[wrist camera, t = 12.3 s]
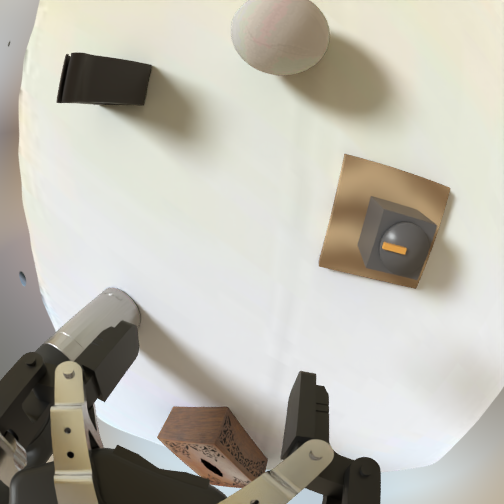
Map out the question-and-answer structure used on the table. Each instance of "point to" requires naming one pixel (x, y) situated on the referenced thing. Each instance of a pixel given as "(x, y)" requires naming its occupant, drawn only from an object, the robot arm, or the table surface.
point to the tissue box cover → (213, 445)
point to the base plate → (355, 208)
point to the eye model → (280, 35)
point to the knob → (395, 238)
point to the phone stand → (102, 80)
